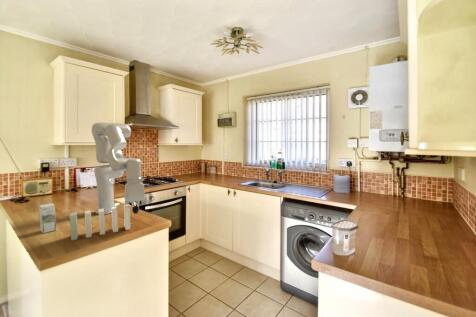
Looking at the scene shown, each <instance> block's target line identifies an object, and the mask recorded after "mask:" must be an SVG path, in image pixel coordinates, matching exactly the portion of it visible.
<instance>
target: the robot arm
mask: <svg viewBox="0 0 476 317" xmlns="http://www.w3.org/2000/svg"><path fill="white" fill-rule="evenodd" d="M91 135H92V137H93V140H94V142H95V158H96V161H97V163H99V164H103V165H98V166H97V167H95V168H94V177H95V180H96V181H95V182H96V194H97V196H96V197H97V209H96V210H95V214H96V215H99V209H104V215H109V214H112V211H111V207H118V206H119V207H120V205H121V203H120V202H117V203H116V202H115V195H114V185H113V183H112V182H111V181H110V180H111V179H112V180H113V179H119V178H122V177H123V176H124V173H125V172H126V183H125V185H124V205H128V206H131V208H132V210H131V211H132V213H133V214H134V215H136V214H137V215H138V212H139V206H140V205H141V204H143V203H144V202H146V192H145V186H144V181H145V178H143V177H142V161H141V159H139V158H135V157H124V154H123V152H122V150H124V149H125V148H126V147H127V145H128V143H127V141H126V139H127V138H130V137H131V136H132V129H131V127H130V126H129V125H128V124H125V123H117V122H95V123H93V124H92V126H91Z"/></svg>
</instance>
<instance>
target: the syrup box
mask: <svg viewBox="0 0 476 317" xmlns="http://www.w3.org/2000/svg"><path fill="white" fill-rule="evenodd" d="M38 215H39V216H38V217H39V228H40V230H39V231H40V232H41V233H42V234H47V233H51V232H55V231H56V230H57V227H56V226H57V225H56V224H57V219H56V207H55V204H54V203H52V202H49V203H43V204H39V205H38Z"/></svg>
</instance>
